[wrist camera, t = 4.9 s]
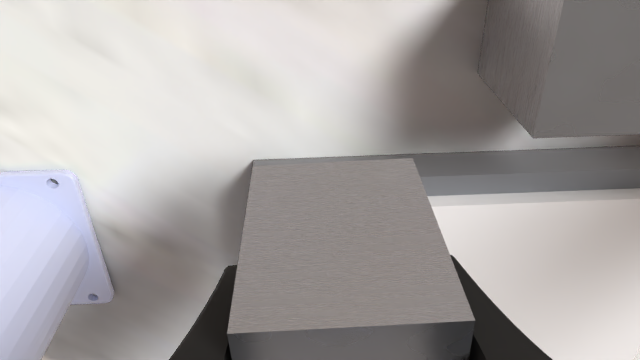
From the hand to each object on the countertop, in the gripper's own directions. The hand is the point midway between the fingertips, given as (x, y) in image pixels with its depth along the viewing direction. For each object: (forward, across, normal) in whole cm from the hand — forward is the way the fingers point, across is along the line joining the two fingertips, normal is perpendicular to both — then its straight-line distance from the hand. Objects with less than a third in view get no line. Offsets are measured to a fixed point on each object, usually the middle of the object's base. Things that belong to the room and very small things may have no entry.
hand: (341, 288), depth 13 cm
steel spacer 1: (+2, 0, 0) cm, 3 cm away
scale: (+10, -7, +10) cm, 16 cm away
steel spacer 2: (+10, -9, -4) cm, 14 cm away
